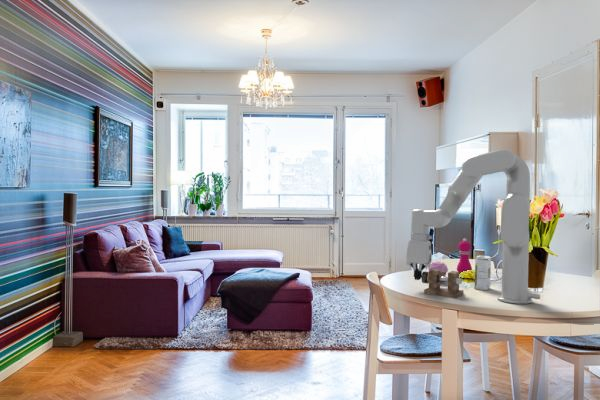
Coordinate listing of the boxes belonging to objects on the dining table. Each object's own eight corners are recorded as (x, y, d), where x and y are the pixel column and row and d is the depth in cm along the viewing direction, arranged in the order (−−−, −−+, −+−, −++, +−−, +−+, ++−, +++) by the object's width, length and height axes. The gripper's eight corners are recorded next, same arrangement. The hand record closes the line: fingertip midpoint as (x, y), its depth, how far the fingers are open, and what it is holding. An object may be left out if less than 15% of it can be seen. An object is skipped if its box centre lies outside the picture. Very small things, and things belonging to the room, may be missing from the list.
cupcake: (424, 282, 226) (425, 261, 226) (434, 279, 232) (434, 259, 232) (441, 284, 220) (442, 263, 219) (451, 282, 226) (451, 261, 225)
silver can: (476, 286, 216) (477, 255, 215) (490, 288, 213) (491, 256, 212) (474, 289, 211) (474, 256, 210) (488, 290, 208) (488, 257, 207)
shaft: (462, 286, 198) (462, 274, 198) (459, 288, 194) (459, 276, 194) (425, 282, 207) (425, 270, 207) (421, 283, 203) (421, 272, 203)
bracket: (463, 293, 200) (463, 271, 200) (457, 297, 193) (457, 274, 192) (430, 289, 208) (431, 268, 208) (423, 293, 200) (424, 271, 200)
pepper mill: (472, 279, 234) (473, 239, 234) (457, 278, 236) (458, 238, 235) (470, 276, 241) (471, 237, 241) (455, 276, 243) (456, 237, 242)
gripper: (439, 238, 205) (437, 280, 205) (406, 235, 213) (404, 275, 214) (433, 239, 199) (431, 283, 199) (400, 236, 207) (398, 278, 207)
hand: (417, 279), depth 206 cm, fingers closed
